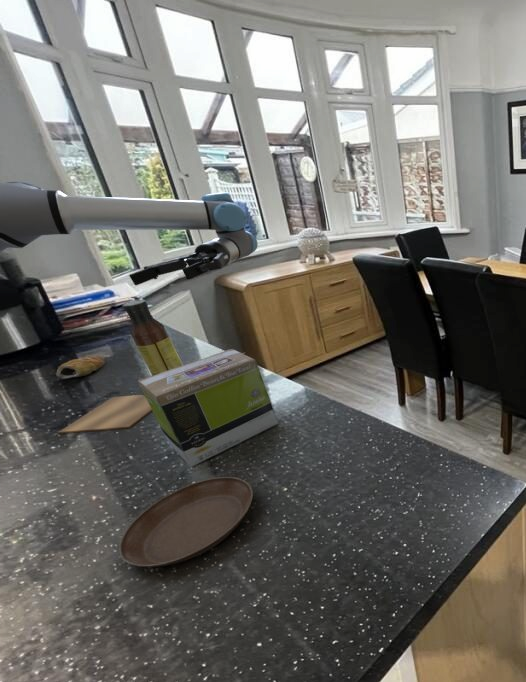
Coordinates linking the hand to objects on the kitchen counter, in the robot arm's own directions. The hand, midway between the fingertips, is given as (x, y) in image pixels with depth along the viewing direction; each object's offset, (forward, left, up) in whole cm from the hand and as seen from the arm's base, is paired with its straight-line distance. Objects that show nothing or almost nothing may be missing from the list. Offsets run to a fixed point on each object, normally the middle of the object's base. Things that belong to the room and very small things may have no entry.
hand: (159, 277), depth 96 cm
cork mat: (0, -24, -23) cm, 34 cm away
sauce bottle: (0, -9, -23) cm, 25 cm away
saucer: (+36, -58, -23) cm, 73 cm away
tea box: (+28, -36, -23) cm, 52 cm away
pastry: (-26, -2, -23) cm, 35 cm away
